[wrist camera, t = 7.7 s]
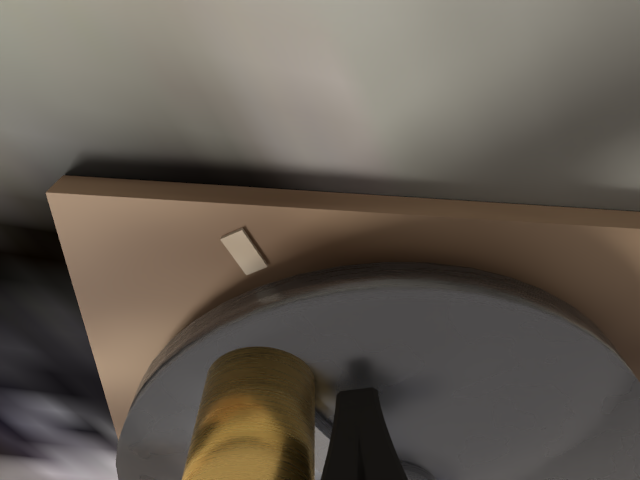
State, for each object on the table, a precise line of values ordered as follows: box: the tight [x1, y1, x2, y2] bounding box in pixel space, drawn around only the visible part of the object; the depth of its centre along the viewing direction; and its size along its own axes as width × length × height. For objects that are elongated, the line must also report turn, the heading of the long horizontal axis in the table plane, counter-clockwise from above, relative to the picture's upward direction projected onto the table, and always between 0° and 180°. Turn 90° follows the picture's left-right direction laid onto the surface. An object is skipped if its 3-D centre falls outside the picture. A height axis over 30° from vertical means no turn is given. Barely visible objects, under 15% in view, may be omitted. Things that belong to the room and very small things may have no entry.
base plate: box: [46, 175, 640, 441], centre depth 18 cm, size 20×20×1 cm
